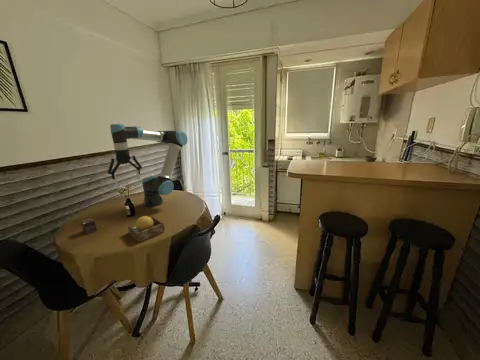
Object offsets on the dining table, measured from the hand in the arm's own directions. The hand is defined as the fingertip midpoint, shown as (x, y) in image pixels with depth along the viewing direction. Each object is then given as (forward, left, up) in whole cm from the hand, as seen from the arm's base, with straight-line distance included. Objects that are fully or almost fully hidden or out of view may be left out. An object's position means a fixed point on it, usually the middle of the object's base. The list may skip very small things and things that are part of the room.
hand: (127, 181), depth 134 cm
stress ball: (+1, +22, -28) cm, 36 cm away
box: (+25, -7, -29) cm, 39 cm away
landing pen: (+1, +22, -29) cm, 36 cm away
